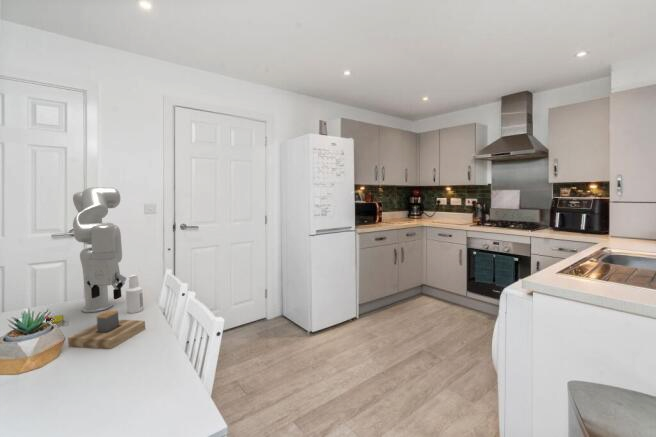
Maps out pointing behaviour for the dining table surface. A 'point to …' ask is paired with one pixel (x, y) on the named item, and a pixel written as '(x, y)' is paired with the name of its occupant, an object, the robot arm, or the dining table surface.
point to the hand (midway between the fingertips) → (106, 297)
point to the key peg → (107, 321)
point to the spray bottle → (134, 295)
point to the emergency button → (58, 320)
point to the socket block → (106, 335)
